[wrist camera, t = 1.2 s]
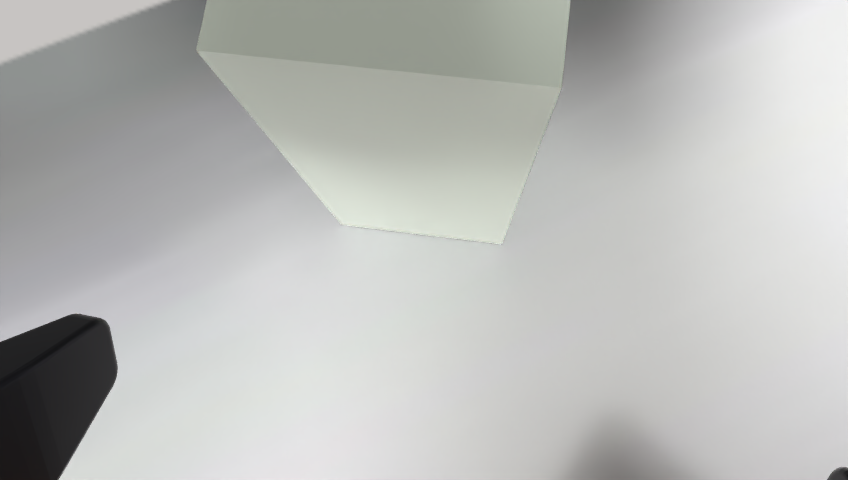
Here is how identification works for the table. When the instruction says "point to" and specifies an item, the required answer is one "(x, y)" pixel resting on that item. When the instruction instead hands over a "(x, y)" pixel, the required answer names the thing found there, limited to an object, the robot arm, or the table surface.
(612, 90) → the table surface
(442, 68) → the pale green box
